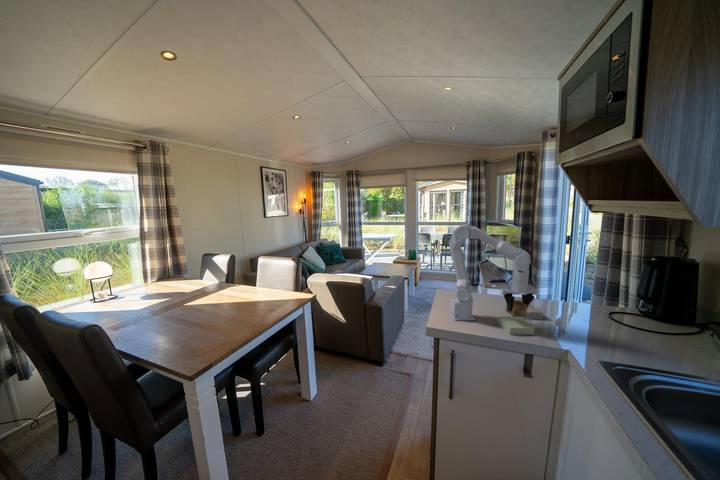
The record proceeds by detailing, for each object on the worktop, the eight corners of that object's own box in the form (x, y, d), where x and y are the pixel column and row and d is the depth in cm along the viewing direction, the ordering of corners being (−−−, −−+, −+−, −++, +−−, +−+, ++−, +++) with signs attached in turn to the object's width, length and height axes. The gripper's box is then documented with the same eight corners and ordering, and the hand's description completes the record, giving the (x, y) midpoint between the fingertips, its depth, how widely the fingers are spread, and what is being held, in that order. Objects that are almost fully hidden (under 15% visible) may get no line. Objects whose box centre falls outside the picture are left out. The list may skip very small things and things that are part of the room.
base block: (509, 334, 108) (510, 327, 107) (497, 322, 118) (497, 316, 117) (534, 334, 108) (534, 327, 107) (519, 322, 117) (520, 316, 117)
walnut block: (513, 316, 109) (514, 305, 108) (505, 311, 115) (506, 300, 114) (526, 316, 109) (527, 305, 108) (518, 311, 114) (519, 300, 114)
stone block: (523, 323, 120) (545, 319, 120) (522, 314, 120) (544, 310, 119) (509, 313, 132) (529, 309, 132) (508, 304, 132) (528, 300, 131)
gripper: (507, 283, 105) (504, 314, 107) (543, 282, 105) (540, 314, 107) (498, 277, 112) (496, 307, 114) (532, 277, 112) (529, 307, 114)
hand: (516, 310), depth 111 cm, fingers closed on walnut block, 5 cm apart
